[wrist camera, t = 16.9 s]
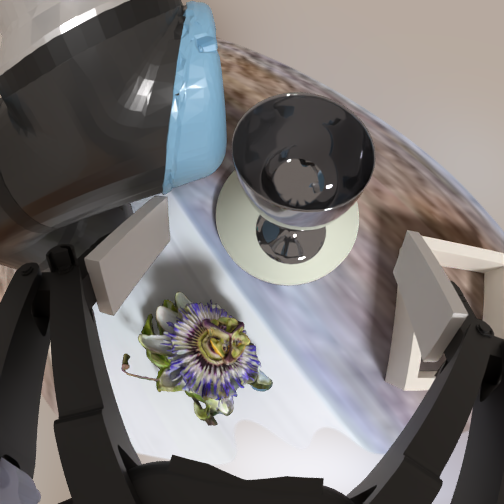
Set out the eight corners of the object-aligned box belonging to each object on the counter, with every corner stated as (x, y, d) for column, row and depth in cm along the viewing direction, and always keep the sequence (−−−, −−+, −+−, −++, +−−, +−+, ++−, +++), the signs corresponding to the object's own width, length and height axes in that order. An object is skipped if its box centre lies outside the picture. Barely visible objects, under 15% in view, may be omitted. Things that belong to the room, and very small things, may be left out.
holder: (384, 381, 26) (404, 390, 21) (399, 248, 29) (419, 235, 24) (480, 378, 25) (505, 383, 20) (490, 264, 28) (514, 256, 23)
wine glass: (334, 201, 30) (375, 107, 15) (323, 275, 28) (372, 226, 13) (260, 187, 31) (249, 84, 16) (243, 259, 29) (213, 194, 14)
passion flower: (240, 333, 34) (304, 370, 23) (180, 399, 30) (221, 462, 20) (174, 265, 30) (218, 282, 19) (104, 340, 26) (109, 398, 16)
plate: (205, 273, 30) (202, 271, 29) (231, 149, 33) (230, 143, 32) (350, 294, 29) (353, 293, 27) (357, 166, 32) (360, 160, 31)
